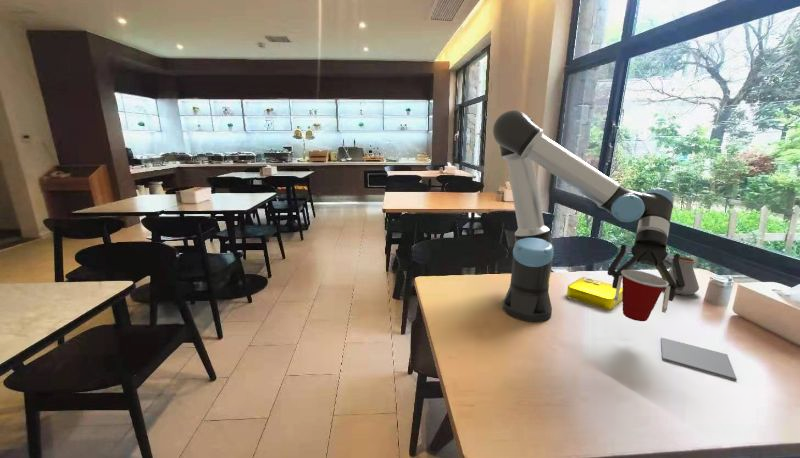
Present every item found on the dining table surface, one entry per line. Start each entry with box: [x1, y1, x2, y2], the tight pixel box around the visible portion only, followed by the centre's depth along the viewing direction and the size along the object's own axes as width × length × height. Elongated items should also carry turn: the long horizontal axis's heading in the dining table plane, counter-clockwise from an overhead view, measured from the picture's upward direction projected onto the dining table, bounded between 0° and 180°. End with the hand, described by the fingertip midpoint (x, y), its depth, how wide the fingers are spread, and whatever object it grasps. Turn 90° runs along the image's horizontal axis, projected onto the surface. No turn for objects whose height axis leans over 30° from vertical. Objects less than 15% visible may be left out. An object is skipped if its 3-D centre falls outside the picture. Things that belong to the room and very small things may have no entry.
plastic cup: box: [621, 269, 669, 322], centre depth 95 cm, size 11×11×12 cm
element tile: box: [566, 276, 623, 310], centre depth 126 cm, size 15×15×5 cm
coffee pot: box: [661, 256, 700, 296], centre depth 129 cm, size 21×12×15 cm, turn 116°
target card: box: [660, 337, 737, 381], centre depth 90 cm, size 14×12×1 cm
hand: (639, 304), depth 93 cm, fingers closed on plastic cup, 10 cm apart
